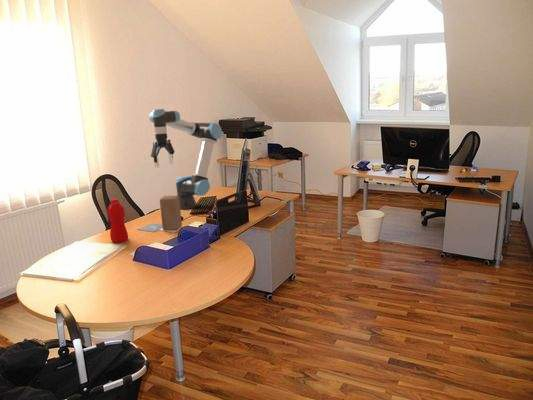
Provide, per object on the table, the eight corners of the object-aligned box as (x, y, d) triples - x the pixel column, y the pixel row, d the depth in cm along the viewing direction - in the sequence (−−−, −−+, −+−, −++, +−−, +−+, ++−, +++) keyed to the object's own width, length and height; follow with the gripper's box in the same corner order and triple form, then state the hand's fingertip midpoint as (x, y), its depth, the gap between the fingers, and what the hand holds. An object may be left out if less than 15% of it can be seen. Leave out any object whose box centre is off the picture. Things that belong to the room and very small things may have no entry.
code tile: (153, 223, 293) (153, 223, 293) (169, 225, 286) (169, 225, 286) (137, 229, 281) (137, 229, 281) (154, 232, 275) (153, 231, 274)
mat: (171, 225, 288) (171, 224, 288) (186, 227, 282) (186, 226, 282) (159, 230, 278) (159, 229, 278) (173, 232, 272) (173, 231, 272)
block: (178, 230, 275) (175, 198, 270) (162, 230, 275) (159, 199, 271) (182, 225, 284) (179, 195, 280) (166, 225, 285) (163, 195, 280)
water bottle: (132, 240, 261) (127, 198, 255) (113, 244, 256) (107, 201, 250) (128, 236, 269) (123, 196, 263) (109, 240, 264) (104, 199, 258)
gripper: (169, 131, 301) (172, 162, 306) (142, 135, 280) (146, 168, 285) (177, 131, 297) (181, 162, 303) (151, 135, 276) (155, 169, 281)
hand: (164, 165), depth 294 cm, fingers open, 13 cm apart
